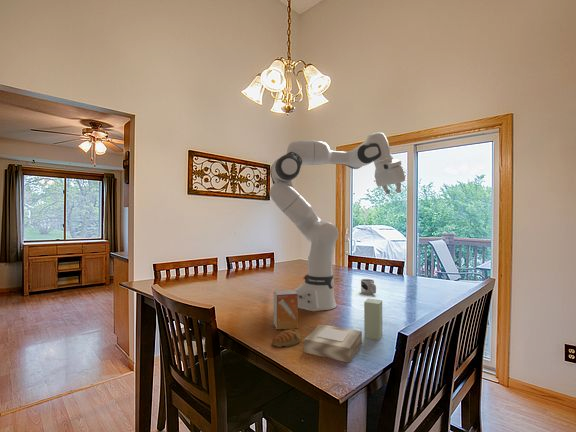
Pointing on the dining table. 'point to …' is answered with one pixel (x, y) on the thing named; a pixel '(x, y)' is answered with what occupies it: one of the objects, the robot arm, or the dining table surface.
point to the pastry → (287, 338)
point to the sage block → (373, 319)
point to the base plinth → (333, 342)
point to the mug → (368, 286)
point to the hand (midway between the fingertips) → (393, 193)
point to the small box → (286, 309)
